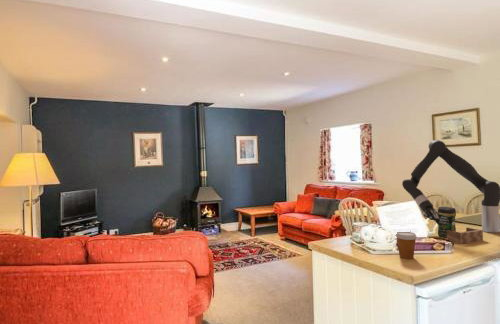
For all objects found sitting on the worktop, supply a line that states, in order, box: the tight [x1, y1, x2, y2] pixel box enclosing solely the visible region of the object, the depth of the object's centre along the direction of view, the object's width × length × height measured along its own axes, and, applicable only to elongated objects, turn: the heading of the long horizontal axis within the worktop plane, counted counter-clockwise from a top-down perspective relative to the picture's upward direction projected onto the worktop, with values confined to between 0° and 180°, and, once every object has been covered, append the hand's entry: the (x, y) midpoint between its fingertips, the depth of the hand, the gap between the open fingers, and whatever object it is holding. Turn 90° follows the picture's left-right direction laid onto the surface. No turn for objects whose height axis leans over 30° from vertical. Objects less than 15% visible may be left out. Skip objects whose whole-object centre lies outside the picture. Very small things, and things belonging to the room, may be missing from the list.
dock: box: [446, 227, 484, 245], centre depth 192 cm, size 19×9×6 cm, turn 112°
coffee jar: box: [437, 206, 457, 238], centre depth 202 cm, size 10×8×19 cm
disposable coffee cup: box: [395, 231, 418, 260], centre depth 162 cm, size 10×10×12 cm
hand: (440, 224), depth 207 cm, fingers closed
